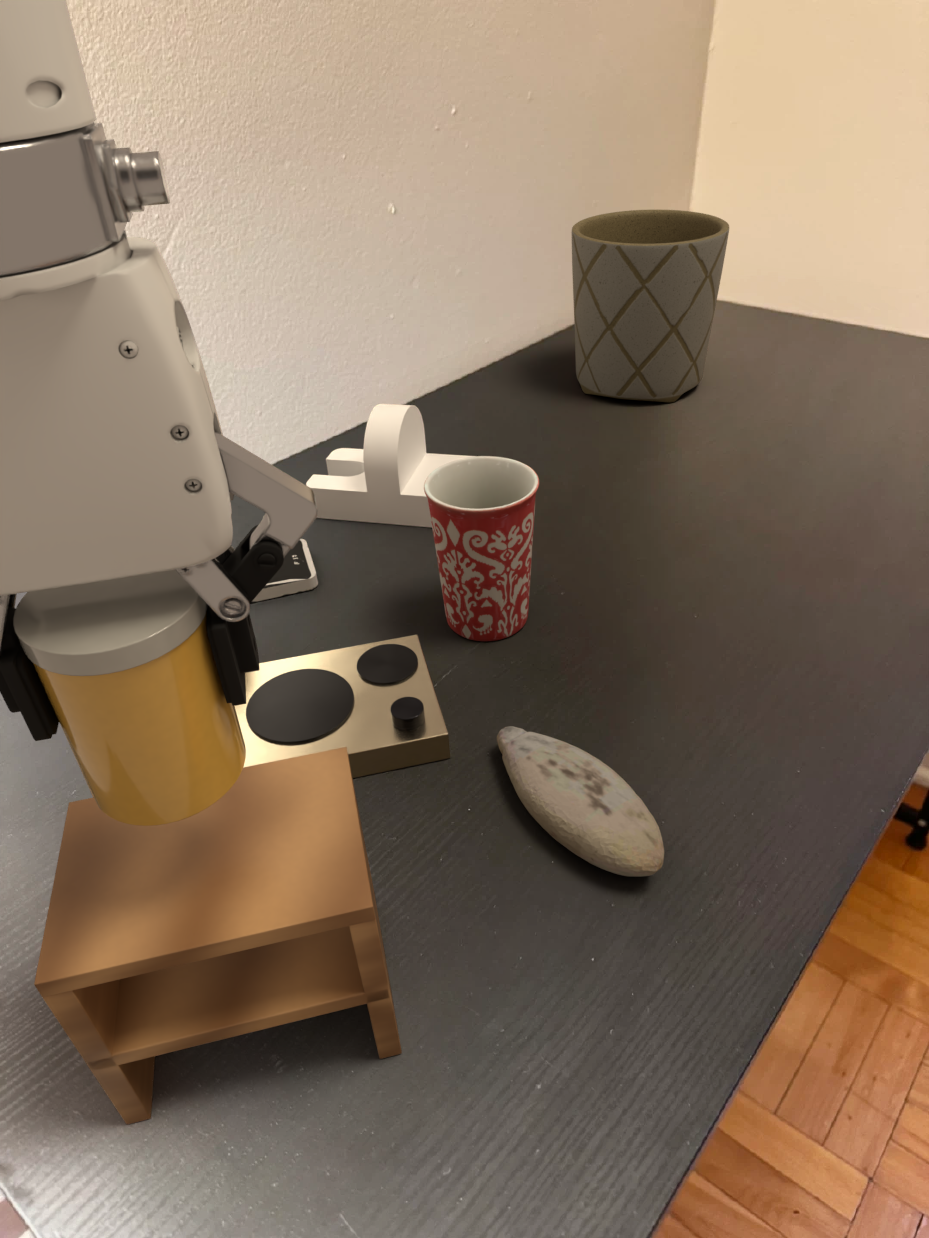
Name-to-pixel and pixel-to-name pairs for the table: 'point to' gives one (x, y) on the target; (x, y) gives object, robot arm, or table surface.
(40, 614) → the jar
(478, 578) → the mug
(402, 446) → the u-slot stand
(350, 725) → the hob
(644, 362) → the planter
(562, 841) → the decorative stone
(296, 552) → the smartphone
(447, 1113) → the table surface
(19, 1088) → the table surface
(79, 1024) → the shelf
